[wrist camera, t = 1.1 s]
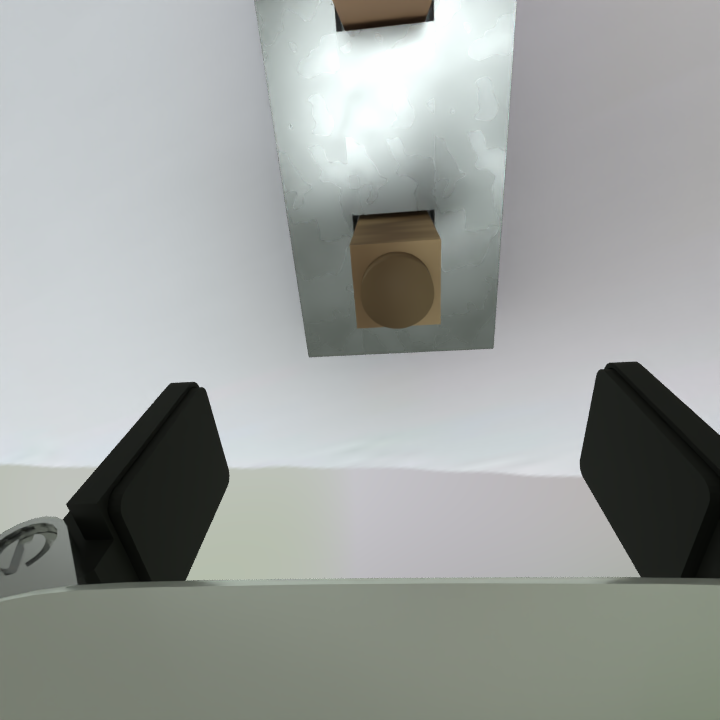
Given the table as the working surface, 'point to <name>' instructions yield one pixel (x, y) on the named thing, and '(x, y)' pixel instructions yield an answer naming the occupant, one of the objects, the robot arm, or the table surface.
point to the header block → (392, 156)
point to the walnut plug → (396, 270)
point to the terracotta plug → (380, 12)
